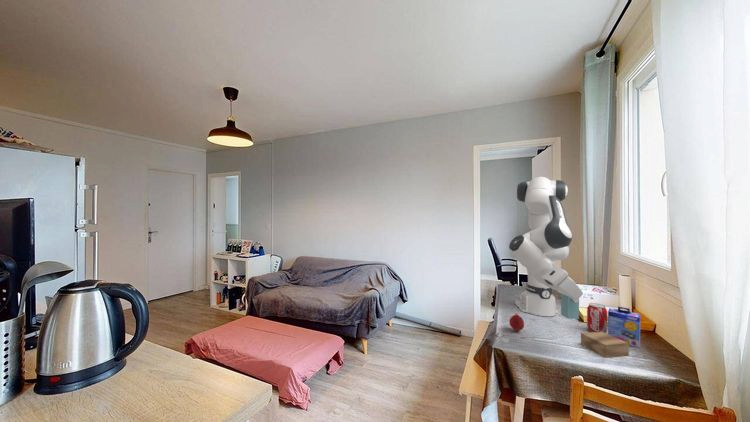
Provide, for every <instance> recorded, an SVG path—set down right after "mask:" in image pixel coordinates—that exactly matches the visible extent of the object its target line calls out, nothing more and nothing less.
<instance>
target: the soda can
mask: <svg viewBox="0 0 750 422" xmlns="http://www.w3.org/2000/svg"><path fill="white" fill-rule="evenodd" d="M586 309H587V310H586V327H587V330H588V331H590V333H591V332H604V333H606V334H608V310H607V308H606V305H603V304H601V303H596V302H589V303H588V305H587V308H586Z"/></svg>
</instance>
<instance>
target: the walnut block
mask: <svg viewBox="0 0 750 422" xmlns="http://www.w3.org/2000/svg"><path fill="white" fill-rule="evenodd" d="M580 346H582V347H584V348H586V349H588V350H590V351H592V352H594V353H596V354H597V355H599V356H601V357H603V358H605V359H610V358H623V357H629V355H630V352H629V350H630V347H629V346H630V345H629V343H627V342H625V341H622V340H620V339H618V338H616V337H613V336H611V335H609V334H608V333H604V332H591V331H590V332H582V333H581V332H580Z"/></svg>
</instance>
